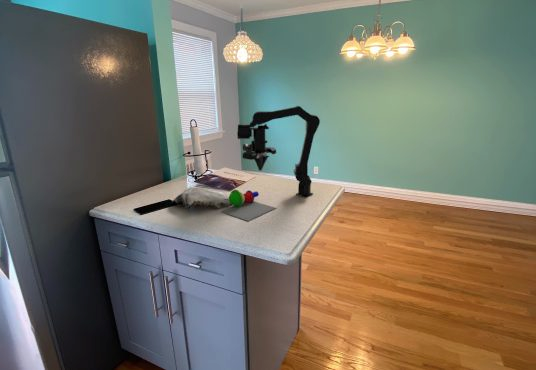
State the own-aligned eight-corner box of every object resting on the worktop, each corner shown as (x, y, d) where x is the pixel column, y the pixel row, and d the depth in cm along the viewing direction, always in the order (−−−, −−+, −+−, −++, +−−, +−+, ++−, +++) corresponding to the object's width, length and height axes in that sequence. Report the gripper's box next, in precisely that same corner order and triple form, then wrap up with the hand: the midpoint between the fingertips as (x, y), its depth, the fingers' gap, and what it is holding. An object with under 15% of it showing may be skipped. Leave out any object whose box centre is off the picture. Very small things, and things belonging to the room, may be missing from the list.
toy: (257, 182, 141) (231, 189, 131) (262, 198, 140) (237, 206, 130) (247, 187, 147) (222, 194, 136) (253, 202, 146) (228, 210, 136)
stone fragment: (207, 191, 162) (206, 179, 161) (240, 204, 142) (240, 190, 141) (162, 202, 145) (161, 189, 143) (193, 218, 125) (192, 203, 124)
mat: (248, 200, 145) (248, 199, 144) (276, 208, 134) (276, 207, 134) (220, 211, 131) (220, 211, 131) (248, 221, 121) (248, 220, 121)
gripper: (259, 135, 155) (260, 164, 160) (233, 139, 142) (235, 171, 146) (276, 136, 148) (276, 167, 153) (250, 141, 135) (251, 175, 139)
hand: (260, 170), depth 148 cm, fingers closed
